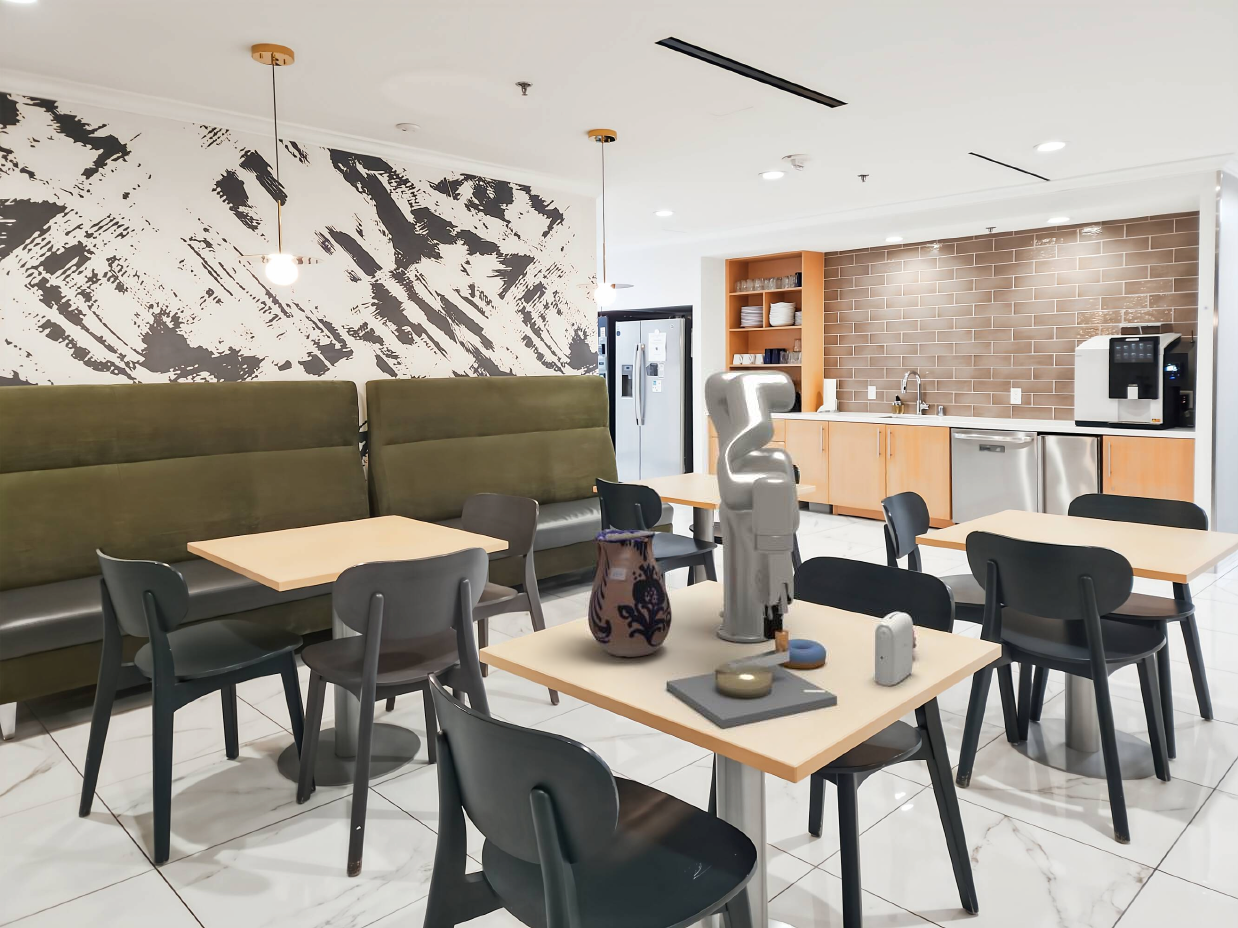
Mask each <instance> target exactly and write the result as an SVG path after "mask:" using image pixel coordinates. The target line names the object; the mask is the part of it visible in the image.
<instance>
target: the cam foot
mask: <svg viewBox="0 0 1238 928" xmlns="http://www.w3.org/2000/svg"><path fill="white" fill-rule="evenodd" d="M789 635H790V634H789V630H786V629H783V630H776V631H775V639H774V641H775V643H774V644H775V645H774V647H775V649H773V650H769V651H765V652H761V653H758V654H754V655H750V656H746V657H743V658H738V659H734V660H731V661H729V662H727V663H724V664H720V665H719V666H717V667H716V668H715V671H714V673H715V685H716V689H717V691H719V692H720V693H722V694H725V695H728V696H732V697H739V698H753V697H760V696H764V695H766V694H768V693H770V692H771V691H772V671H771V669H770V668H768V667H769V666H773V665H779V664H781V663H783V662H787V661H789V640H790V638H789V637H790V636H789Z"/></svg>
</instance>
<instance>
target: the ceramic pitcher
mask: <svg viewBox="0 0 1238 928" xmlns="http://www.w3.org/2000/svg"><path fill="white" fill-rule="evenodd" d="M655 536H656V532H654V531H646V530H641V529H639V530H638V529H637V530H633V529H630V530H626V529H625V530H617V529H608V528H606V529H604V530H601V531H600V532H599V533H597V534H596V535H595V537H594V539H595V540H596V556H597V561H598V566H597V569H596V575H595V577H594V581H593V584H592V589H591V593H590V596H589V601H588V612H587V614H588V615H587V620H588V627H589V630H590V632H591V634H592V636H593V637H594V639H595V641H596V642H597V644H599V646H600V647H601V648H602V649H603V650H605V651H606V652H608V653H609V654H611V655H612V654H613V656H615V655H616V656H615V657H621V656H622V657H623V656H625V657H626V658H634V657H635V658H637V657H642V656H648V655H650V654H652V653H654V652H655V651H657V649H659V647H661V646H662V645H663V644H664V642H665V640H666V639H667V637H668V634H669V632H670V629H671V624H672V616H673V615H672V607H671V602H670V598H669V595H668V592H667V588H666V585H665V583H664V580H663V577H662V574H661V572H660V569H659V566H658V563H657V560H656V558H655V555H654V551H653V539H654V538H655Z"/></svg>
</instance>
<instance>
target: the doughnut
mask: <svg viewBox="0 0 1238 928" xmlns="http://www.w3.org/2000/svg"><path fill="white" fill-rule="evenodd" d="M826 659H827V650H826V648H825V647H824V646H823V645H822V644H821V643H819V642H817V641H815V640H810V639H805V638H804V639H803V638H795V639H794V638H792V639H789V661H787V662H783V663H780V664H781V665H783V666H785V667H788V668H791V669H799V670H808V669H809V670H810V669H815V668H818V667H821V666H822V665H823V664H824V663H825V662H826Z"/></svg>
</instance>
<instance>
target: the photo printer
mask: <svg viewBox="0 0 1238 928" xmlns="http://www.w3.org/2000/svg"><path fill="white" fill-rule="evenodd" d="M913 630H914V622H913V620H912V617H911V616H910V615H909V614H908V613H906V612H901V611H894V612H891V613H889V614H887V615H885V616H884V617H883V618H882V619H881V620H880V621H879V622H878V624H877V626H876V627H875V631H874V680H875V682H877V684H879V685H881V686H887V687H888V686H889V687H890V686H894V685H896V684H898V683H900V682H901V681H902V680H904V679H906V678H907V676H909V675H910V674H911V673H912V671H913V656H914V655H913V652H914V651H913V650H914V649H913Z"/></svg>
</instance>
